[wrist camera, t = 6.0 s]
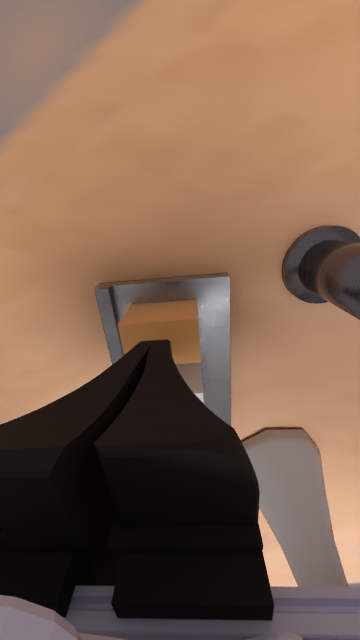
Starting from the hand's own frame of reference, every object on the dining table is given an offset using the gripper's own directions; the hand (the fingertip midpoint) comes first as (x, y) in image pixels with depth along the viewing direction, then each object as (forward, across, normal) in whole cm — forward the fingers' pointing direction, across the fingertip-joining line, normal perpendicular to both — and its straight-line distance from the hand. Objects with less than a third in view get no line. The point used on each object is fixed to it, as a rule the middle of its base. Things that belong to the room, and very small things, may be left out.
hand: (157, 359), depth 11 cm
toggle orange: (+4, 0, 0) cm, 4 cm away
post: (+5, -10, -2) cm, 11 cm away
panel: (+5, 0, +4) cm, 7 cm away
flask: (+6, -8, +14) cm, 17 cm away
